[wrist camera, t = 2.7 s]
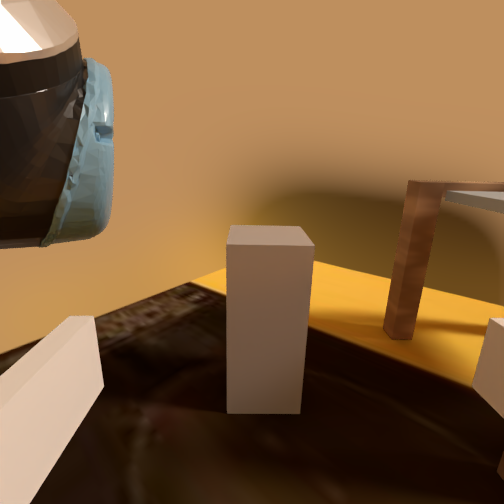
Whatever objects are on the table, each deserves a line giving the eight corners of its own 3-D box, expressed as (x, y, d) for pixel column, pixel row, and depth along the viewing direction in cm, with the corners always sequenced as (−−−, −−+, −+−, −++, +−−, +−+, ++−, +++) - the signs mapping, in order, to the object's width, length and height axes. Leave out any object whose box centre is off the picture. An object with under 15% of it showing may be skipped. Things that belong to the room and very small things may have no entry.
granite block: (226, 413, 21) (226, 244, 17) (230, 365, 25) (230, 225, 22) (300, 413, 21) (314, 245, 17) (289, 365, 26) (300, 226, 22)
